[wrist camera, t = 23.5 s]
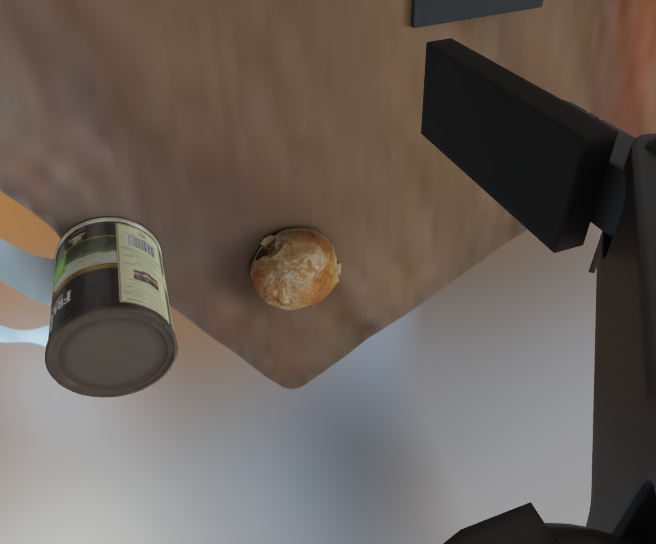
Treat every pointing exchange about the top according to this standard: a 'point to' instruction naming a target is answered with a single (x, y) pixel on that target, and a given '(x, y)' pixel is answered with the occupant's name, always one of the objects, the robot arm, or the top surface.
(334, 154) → the top surface
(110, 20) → the top surface
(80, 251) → the coffee can
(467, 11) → the mat
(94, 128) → the top surface
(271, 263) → the bread roll
